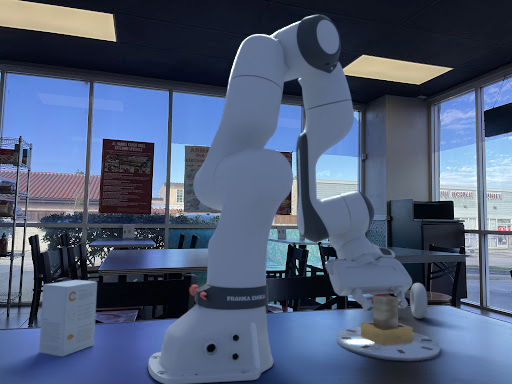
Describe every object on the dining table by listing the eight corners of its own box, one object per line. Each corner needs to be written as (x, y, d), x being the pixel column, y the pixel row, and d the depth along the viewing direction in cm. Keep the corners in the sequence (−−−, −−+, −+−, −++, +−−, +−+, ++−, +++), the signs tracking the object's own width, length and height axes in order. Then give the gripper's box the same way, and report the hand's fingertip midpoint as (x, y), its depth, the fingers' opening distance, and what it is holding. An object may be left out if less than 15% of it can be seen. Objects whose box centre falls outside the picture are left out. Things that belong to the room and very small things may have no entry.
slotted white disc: (379, 366, 72) (379, 342, 72) (319, 336, 91) (319, 317, 91) (463, 354, 79) (462, 333, 80) (391, 329, 99) (390, 312, 99)
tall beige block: (383, 342, 83) (383, 298, 84) (373, 337, 86) (373, 296, 87) (398, 340, 84) (397, 297, 85) (388, 336, 87) (387, 295, 88)
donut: (429, 322, 107) (428, 285, 108) (415, 321, 107) (415, 284, 108) (421, 315, 116) (420, 280, 117) (409, 314, 117) (408, 280, 118)
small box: (71, 341, 83) (75, 279, 84) (94, 345, 80) (98, 281, 82) (37, 352, 75) (42, 283, 76) (62, 357, 73) (66, 286, 74)
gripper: (327, 250, 90) (353, 301, 80) (398, 250, 97) (429, 297, 88) (317, 268, 94) (341, 319, 84) (386, 266, 101) (415, 313, 91)
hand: (387, 307), depth 86 cm, fingers open, 8 cm apart
